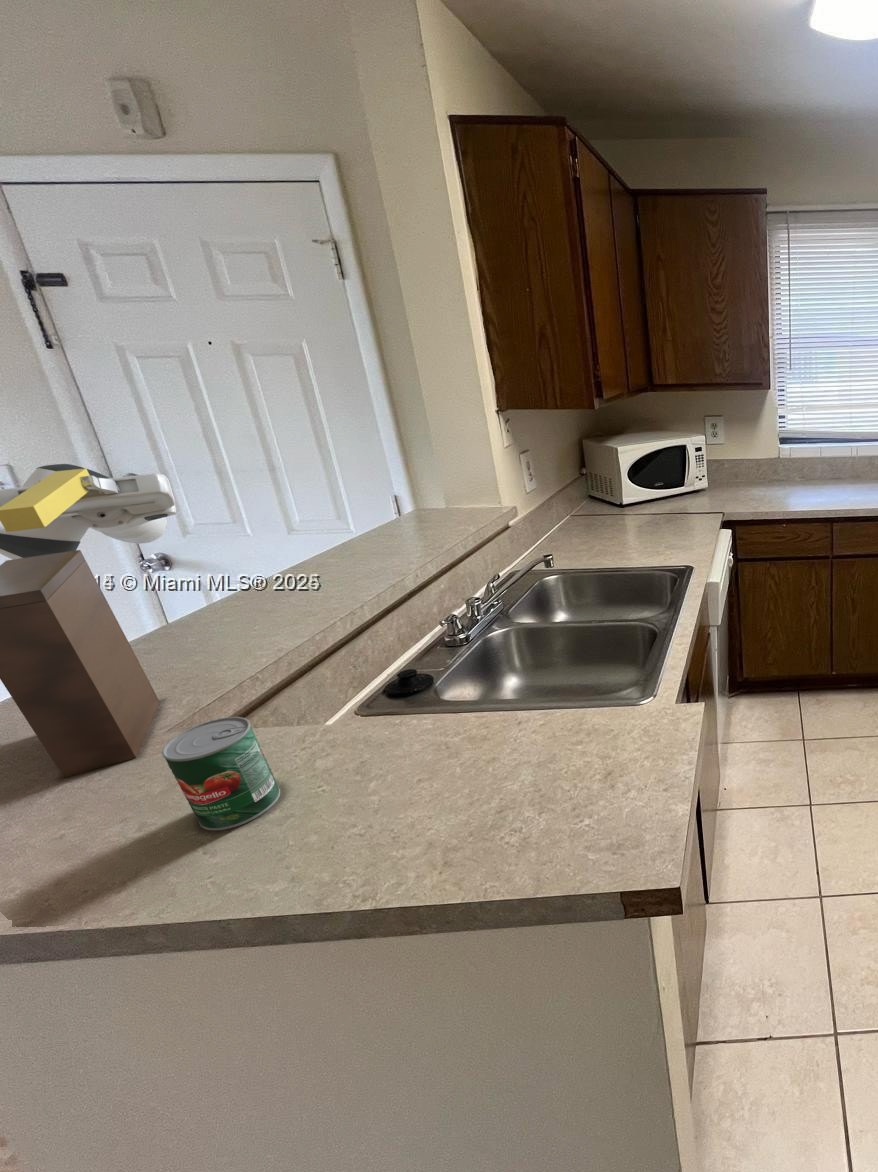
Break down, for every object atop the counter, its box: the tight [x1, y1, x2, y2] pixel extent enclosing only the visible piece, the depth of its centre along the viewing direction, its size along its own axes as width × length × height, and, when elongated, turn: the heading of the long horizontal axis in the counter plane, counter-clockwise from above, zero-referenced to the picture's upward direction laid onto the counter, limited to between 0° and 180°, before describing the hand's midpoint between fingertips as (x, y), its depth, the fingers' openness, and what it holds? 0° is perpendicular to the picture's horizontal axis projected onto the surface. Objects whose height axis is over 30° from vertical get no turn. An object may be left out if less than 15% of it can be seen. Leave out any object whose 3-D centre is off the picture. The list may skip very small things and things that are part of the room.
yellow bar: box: [0, 468, 90, 532], centre depth 90 cm, size 4×24×3 cm, turn 35°
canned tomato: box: [161, 716, 281, 832], centre depth 75 cm, size 8×8×11 cm
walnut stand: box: [0, 549, 160, 778], centre depth 84 cm, size 7×16×26 cm, turn 35°
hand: (65, 482), depth 95 cm, fingers closed on yellow bar, 3 cm apart
